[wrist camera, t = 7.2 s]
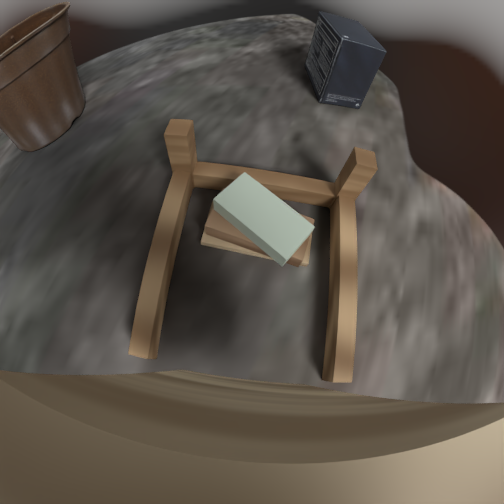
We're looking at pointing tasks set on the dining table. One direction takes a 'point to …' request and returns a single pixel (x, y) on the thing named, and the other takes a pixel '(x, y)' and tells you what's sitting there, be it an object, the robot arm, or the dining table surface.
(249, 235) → the offcut top
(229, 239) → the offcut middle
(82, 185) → the dining table surface
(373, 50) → the small box
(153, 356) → the rack
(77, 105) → the plant pot
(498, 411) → the pale wooden block
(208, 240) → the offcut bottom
